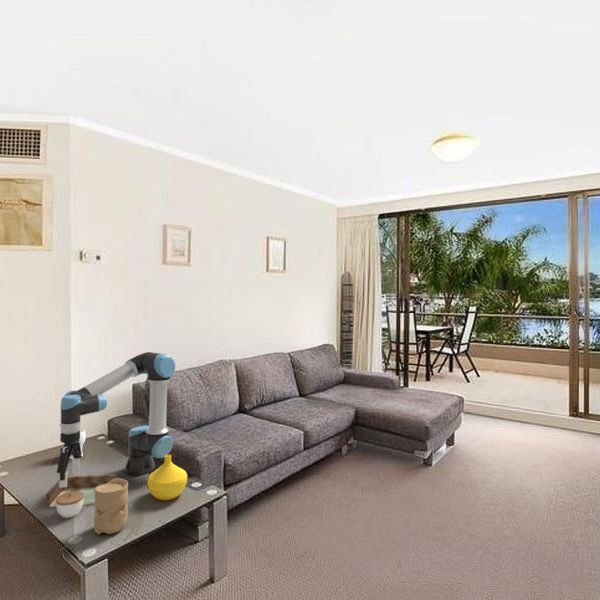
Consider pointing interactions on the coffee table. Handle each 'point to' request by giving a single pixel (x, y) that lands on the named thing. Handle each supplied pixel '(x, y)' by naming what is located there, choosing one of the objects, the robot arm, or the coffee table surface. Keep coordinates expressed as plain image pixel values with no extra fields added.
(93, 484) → the walls
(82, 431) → the cup
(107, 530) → the container
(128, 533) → the coffee table surface
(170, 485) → the vase
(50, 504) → the board
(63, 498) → the lidded jar
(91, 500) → the pad
